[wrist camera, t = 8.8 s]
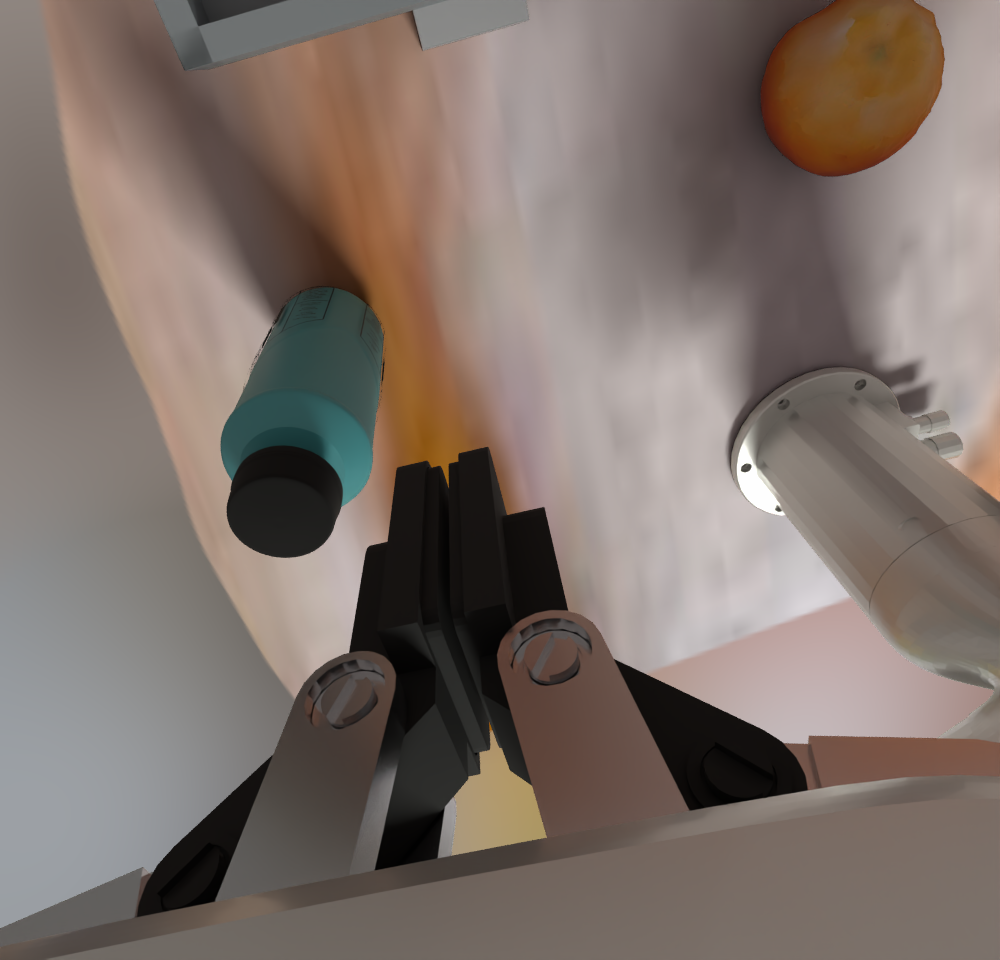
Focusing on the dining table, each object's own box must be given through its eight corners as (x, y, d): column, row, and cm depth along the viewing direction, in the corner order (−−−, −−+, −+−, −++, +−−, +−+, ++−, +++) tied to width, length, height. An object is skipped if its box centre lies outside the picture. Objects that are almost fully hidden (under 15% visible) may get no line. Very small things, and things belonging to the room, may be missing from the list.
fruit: (762, 224, 37) (821, 168, 29) (721, 94, 37) (770, 1, 29) (898, 175, 36) (997, 104, 29) (858, 41, 36) (947, -69, 28)
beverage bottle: (283, 264, 37) (174, 431, 20) (396, 287, 38) (379, 460, 22) (278, 366, 40) (181, 579, 24) (382, 383, 42) (359, 595, 25)
